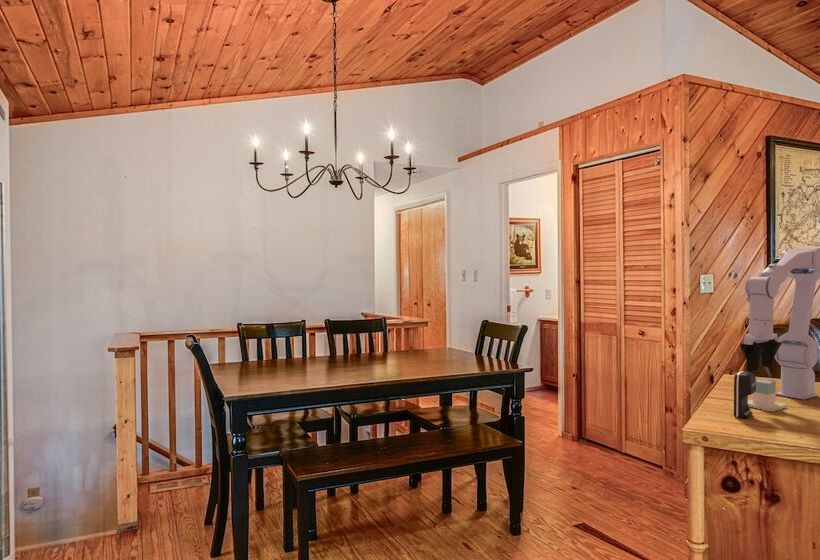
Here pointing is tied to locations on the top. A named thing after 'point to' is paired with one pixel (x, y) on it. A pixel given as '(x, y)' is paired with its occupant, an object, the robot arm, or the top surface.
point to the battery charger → (743, 393)
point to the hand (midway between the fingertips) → (760, 368)
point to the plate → (767, 408)
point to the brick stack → (764, 392)
